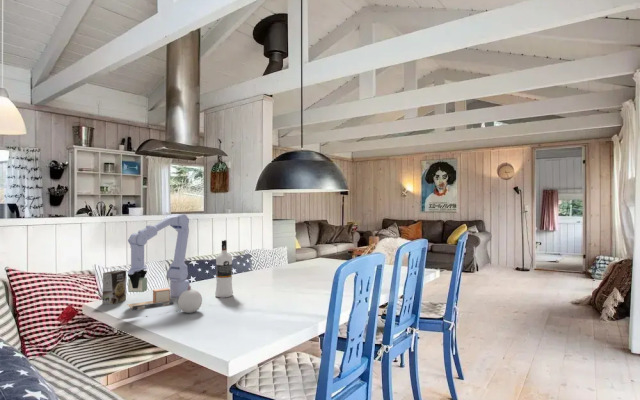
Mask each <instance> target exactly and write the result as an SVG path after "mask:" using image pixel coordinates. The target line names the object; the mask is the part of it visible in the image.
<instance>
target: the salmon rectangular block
mask: <svg viewBox="0 0 640 400" xmlns="http://www.w3.org/2000/svg"><path fill="white" fill-rule="evenodd" d="M152 301H153V302H154V303H159V302H165V301H171V296H170V288H169V287H164V288H157V289H156V288H155V289H152Z"/></svg>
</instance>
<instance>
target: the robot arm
mask: <svg viewBox="0 0 640 400" xmlns="http://www.w3.org/2000/svg"><path fill="white" fill-rule="evenodd" d="M189 225H190V218H189V217H188V215H187V214H185V213H181V214H178V213H175V214H174V213H171V214H169V215H167V216H165V217H164V218H163V219H161V221H158V222H157V223H156V224H154V225H152V224H148V225H145V227H144V228H143V229H141V230H138V232H136V233H131V234H130V235H129V237H128V238H129V239H127V241H128V243H129V246H130V267H129V269H128V273H127V277H128V279H130V280H131V283H132V287H133V288H138V285H139V279H140V278H146V275H147V273H148V270H147V265H145V245H146V244H147V243H148V241H149V240H151V239H153V238H154V237H156V236H157V235H158V232H160V231H161V230H163V229H165V228H168V226H170V227H171V228H173V229H175V231H176V232H177V234H176V243H175V249H174V256H173V262H171V263H170V264H169V267H168V270H167V273H166V275H167V276H166V277H167V278H168V279H169V281H170V282H169V285H170V286H169V287H170V288H169V289H170V298H173V297H174V298H179V296H180V295H181V293H183V292H184V291H186V290H188V286H191V285H190V281H189V279H187V278H188V276H189V271H188V265H187V264H186V263H185V259H186V253H187V247H188V241H189V240H188V239H189V232H190V228H189V227H190V226H189Z"/></svg>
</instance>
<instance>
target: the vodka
mask: <svg viewBox="0 0 640 400" xmlns="http://www.w3.org/2000/svg"><path fill="white" fill-rule="evenodd" d="M227 245H228V244H227V240H226V239H222V240H221V252H220V253H219V254H217V256H216V257H215V262H216V263H215V264H216V277H215V279H216V286H215V292H214V293H215V298H216V297H217V298H221V299H222V298H225V297H226V298H230V297H232V296H234V290H233V269H232V267H233V265H232V264H233V255H231V253H228V252H227V249H228V246H227ZM226 298H225V299H226Z"/></svg>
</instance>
